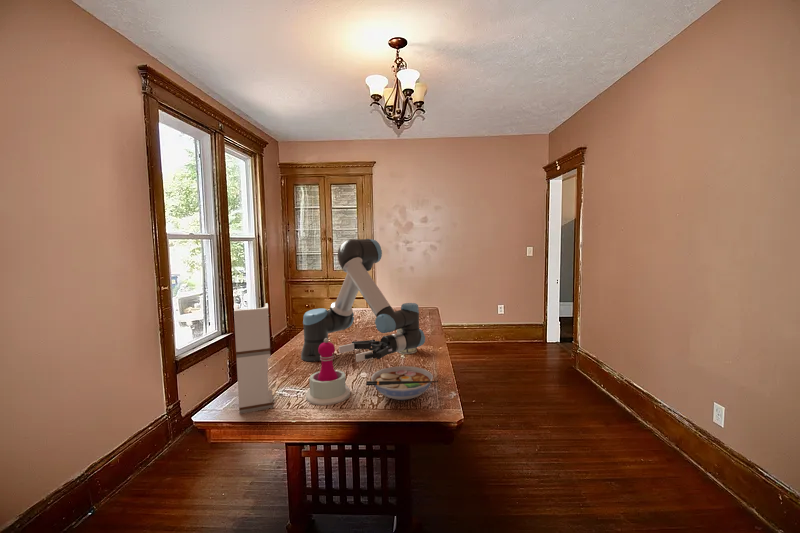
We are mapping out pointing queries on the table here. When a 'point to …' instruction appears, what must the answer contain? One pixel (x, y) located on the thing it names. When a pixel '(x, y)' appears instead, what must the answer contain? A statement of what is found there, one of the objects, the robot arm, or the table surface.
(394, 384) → the ramen bowl
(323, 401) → the well
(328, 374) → the pepper mill
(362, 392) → the table surface
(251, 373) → the spiral stair tower
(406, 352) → the coffee can
